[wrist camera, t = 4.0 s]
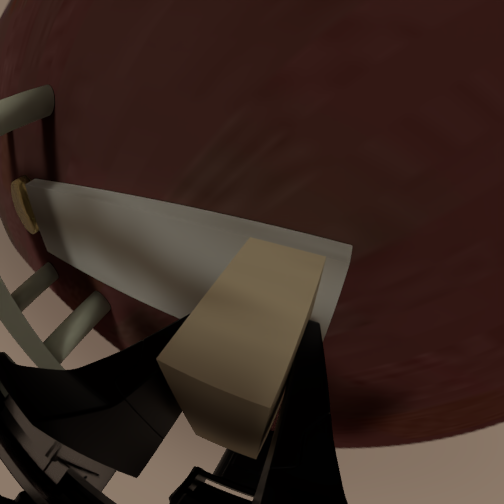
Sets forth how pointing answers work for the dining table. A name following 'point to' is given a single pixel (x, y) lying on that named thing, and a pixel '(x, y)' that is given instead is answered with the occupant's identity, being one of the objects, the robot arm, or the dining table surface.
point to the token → (23, 203)
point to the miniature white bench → (11, 306)
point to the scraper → (204, 295)
